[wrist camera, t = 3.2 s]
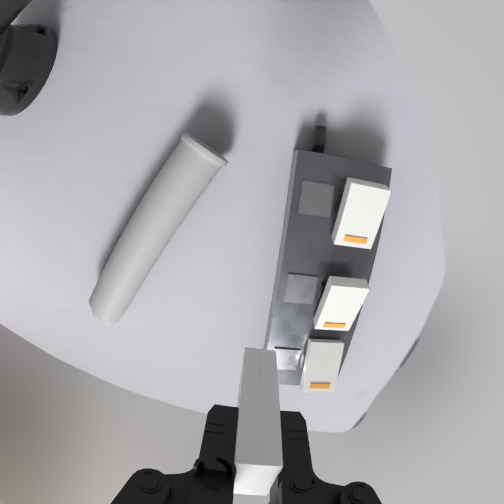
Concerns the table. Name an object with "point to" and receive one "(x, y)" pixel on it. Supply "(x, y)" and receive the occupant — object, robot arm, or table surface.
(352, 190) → the block
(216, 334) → the table surface
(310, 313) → the power strip
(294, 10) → the table surface
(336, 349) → the block
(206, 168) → the tube
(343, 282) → the block
